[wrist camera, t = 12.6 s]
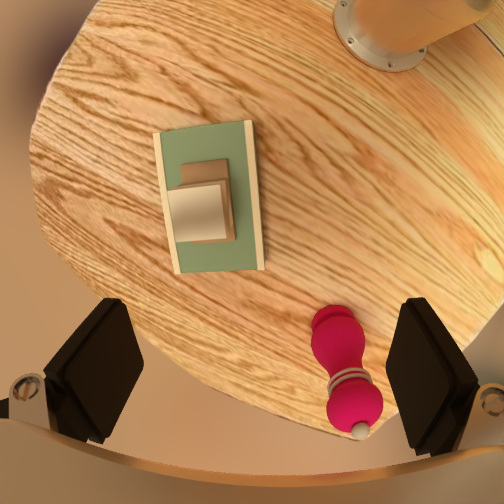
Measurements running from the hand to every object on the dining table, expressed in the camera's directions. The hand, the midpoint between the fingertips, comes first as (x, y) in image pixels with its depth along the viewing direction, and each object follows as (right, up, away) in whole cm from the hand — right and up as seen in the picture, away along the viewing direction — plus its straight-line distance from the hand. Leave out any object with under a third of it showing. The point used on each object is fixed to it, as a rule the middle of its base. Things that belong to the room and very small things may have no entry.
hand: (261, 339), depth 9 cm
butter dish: (-5, +8, +23) cm, 25 cm away
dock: (-5, +10, +26) cm, 28 cm away
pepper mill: (+11, -7, +32) cm, 34 cm away
